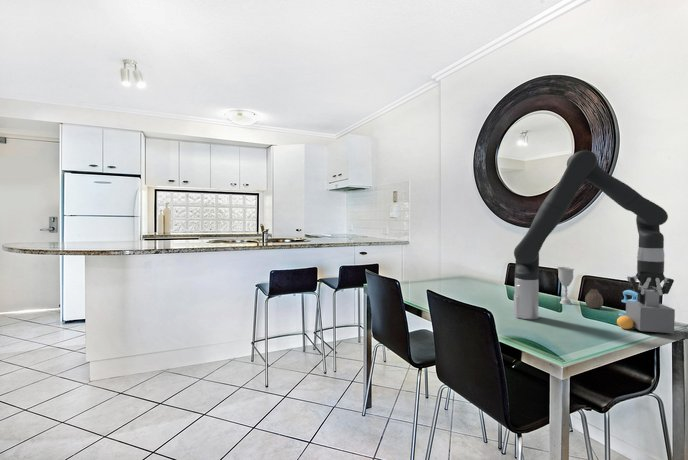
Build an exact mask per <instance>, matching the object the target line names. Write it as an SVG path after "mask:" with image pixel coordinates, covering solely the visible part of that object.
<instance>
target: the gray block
mask: <svg viewBox="0 0 688 460" xmlns="http://www.w3.org/2000/svg"><path fill="white" fill-rule="evenodd" d="M644 295H645V304H641V303H639V302H638V301H626V303H625V314H626V316H628V317H630V318H631V319H632V320H633V322H634V325H633V327H632V328H635V329H636V330H638V331H640V332H652V333H663V334H664V333H666V334H675V317H676V315H675V314H676V309H675V308H672V307H669V306H667V305H665V304H662V303H661V304H660V305H659V292H657V291H654V289H646V291H645V293H644Z"/></svg>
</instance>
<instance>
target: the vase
mask: <svg viewBox="0 0 688 460" xmlns="http://www.w3.org/2000/svg"><path fill="white" fill-rule="evenodd" d="M584 301H585V304H586V306H587V307H588V308H590V309H594V308H599V309H600V308H602V306H603V305H604V299H603V295H602V294H601V293H599V291H598V289H595V288H591V289H590V290H589V292H587V294H585V298H584Z"/></svg>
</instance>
